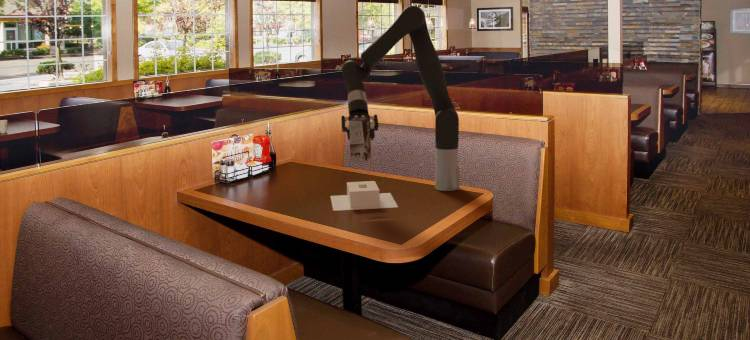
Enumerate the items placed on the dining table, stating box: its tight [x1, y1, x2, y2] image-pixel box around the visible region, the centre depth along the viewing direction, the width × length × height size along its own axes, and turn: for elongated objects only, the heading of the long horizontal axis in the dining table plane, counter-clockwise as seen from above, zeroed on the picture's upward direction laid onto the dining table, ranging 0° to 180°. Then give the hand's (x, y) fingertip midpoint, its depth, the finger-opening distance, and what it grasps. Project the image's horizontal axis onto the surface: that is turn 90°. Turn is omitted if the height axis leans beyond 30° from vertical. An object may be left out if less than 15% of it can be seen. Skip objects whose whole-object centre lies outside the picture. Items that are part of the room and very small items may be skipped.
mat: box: [329, 192, 399, 212], centre depth 235 cm, size 24×20×1 cm
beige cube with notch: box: [346, 180, 380, 207], centre depth 234 cm, size 11×14×6 cm
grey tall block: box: [348, 117, 372, 164], centre depth 229 cm, size 9×6×16 cm
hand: (361, 139), depth 230 cm, fingers closed on grey tall block, 7 cm apart
